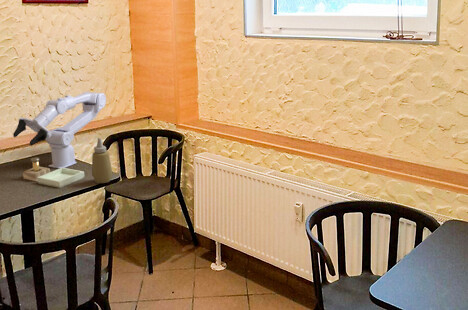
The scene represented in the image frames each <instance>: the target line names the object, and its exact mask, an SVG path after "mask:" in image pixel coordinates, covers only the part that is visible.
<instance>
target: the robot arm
mask: <svg viewBox="0 0 468 310" xmlns="http://www.w3.org/2000/svg"><path fill="white" fill-rule="evenodd" d="M106 102H107V97H106V94H105V93H103V92H92V91H91V92H90V91H83V92H81V93H80V94H78V95H76V96H72V95H69V94H67V95H64V97H58V98H57V99H50V100H47V102H46V103H45V107H44V108H43V110H41V111H40V112H39V113H38V114H37V115H36V116H35V117H33V119H31V118H27V117H23V116H21V117H20V118H18V124H17V126H16V129H15V130H14V132H13V133H12V135H13V138H17V137H18V136H19V135H20V134H21V133H23V132H24V131H26V130H27V127H28V128H30V129H31V131H33V132H35V133H37V134H35V136H33V138H32V139H30V141H29V146H31V147H32V146H34V145H36V144H37V143H40V142H44V141H46V143H47V144H48V145H49V147H50V151H51V159H52V161H51V162H52V163H51V164H49V165H48V168H49V167H50V168H55V169H60V168H68V167H71V166H73V165H76V164H77V161H76V157H75V149H74V147H73V145H72V144H71V143H72V141H73V140H75V134H76V133H77V132H79V131H81V130H82V129H83V128H84V127H85V126H86V125H88V124H89V123H91V121H93V120H94V119H96V117H97V116H98V114H99V112H100V111H101V110H103V109H104V108H105V107H106ZM79 104H82V112H81V113H79V114H78V115H76V117H74V118H73V119H72V120H70V121H69V122H67V123H66V124H64V125H63V126H60V127H56V128H54V129H50V130H49V129H48V128H46V127H47V126H48V125H50V123H52V122H53V121H54V120H55V119H56V117H58V116H59V115H64V114H65V113H66V111H70V110H73V109H74V108H76V105H79Z"/></svg>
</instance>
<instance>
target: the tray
mask: <svg viewBox="0 0 468 310" xmlns="http://www.w3.org/2000/svg"><path fill="white" fill-rule="evenodd" d="M84 178H86V177H85V171H84V170H77V169H71V168H68V167H66V168H60V169H59V168H56V169H55V170H53V171H50V173H47V174H44V175H42V176H39V177H37V181H36V182H37V184H39V185H44V186H49V187H54V188H60V189H61V188H63V187H65V186H68V185H70V184H73V183H75V182H78V181H79V180H81V179H84Z"/></svg>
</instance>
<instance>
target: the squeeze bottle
mask: <svg viewBox="0 0 468 310" xmlns="http://www.w3.org/2000/svg"><path fill="white" fill-rule="evenodd" d="M93 151H94V152H92V155H91V156H92V157H91V159H92V160H91V175H92V177H93V180H94V181H95V183H97V184H105V183H106V184H107V183H110V181H111V178H112V175H113V170H112V164H111V158H110V152H108V151H107V147H106V146H105V145H103V141H102V138H101V137H99V138H97V143H96V146H94V148H93Z"/></svg>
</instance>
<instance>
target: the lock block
mask: <svg viewBox="0 0 468 310" xmlns="http://www.w3.org/2000/svg"><path fill="white" fill-rule="evenodd" d="M39 170H40V171H38V172H34V171H33V167H32V168H29V169H26V170H24V171H22V176H23V180H30V181H34V182H38V181H37V177H39V176H42V175H44V174H47V173H50V172H51V169H50V168H49V167H43V166H39Z"/></svg>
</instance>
